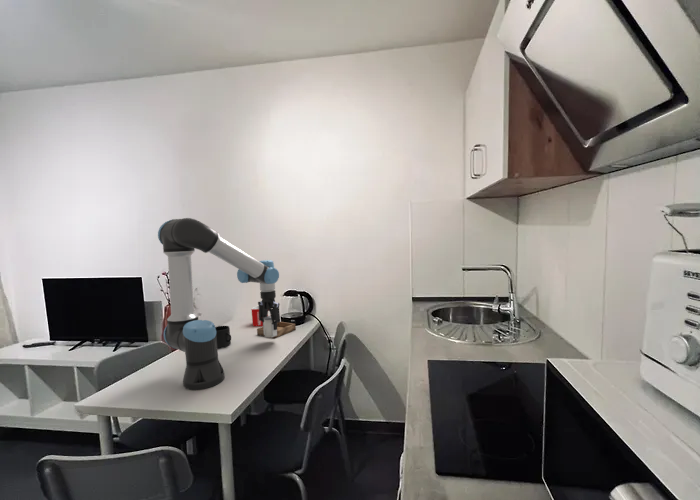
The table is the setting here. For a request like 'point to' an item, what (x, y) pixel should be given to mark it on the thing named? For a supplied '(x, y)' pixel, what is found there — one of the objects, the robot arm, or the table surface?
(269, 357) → the table surface
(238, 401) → the table surface
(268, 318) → the shaker
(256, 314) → the mug
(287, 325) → the tray
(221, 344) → the mug
